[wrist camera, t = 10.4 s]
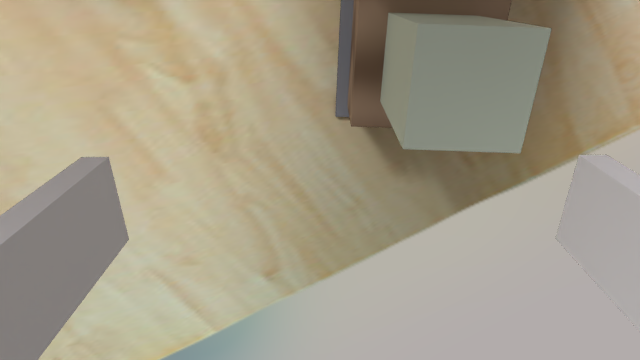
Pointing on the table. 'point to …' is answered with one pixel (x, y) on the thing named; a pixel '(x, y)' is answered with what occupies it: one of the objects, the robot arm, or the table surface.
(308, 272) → the table surface
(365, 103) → the walnut block
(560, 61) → the table surface
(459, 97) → the sage block
